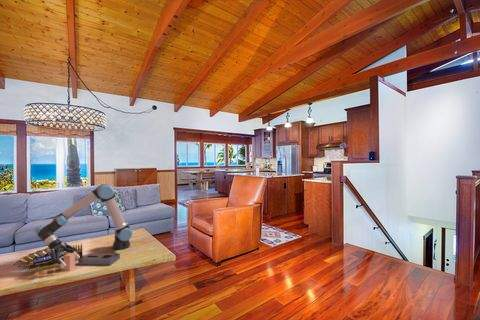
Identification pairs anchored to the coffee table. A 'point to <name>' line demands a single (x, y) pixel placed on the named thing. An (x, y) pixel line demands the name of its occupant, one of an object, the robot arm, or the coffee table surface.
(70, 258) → the square peg
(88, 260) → the bore plate
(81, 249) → the ammunition clip
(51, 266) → the coffee table surface
